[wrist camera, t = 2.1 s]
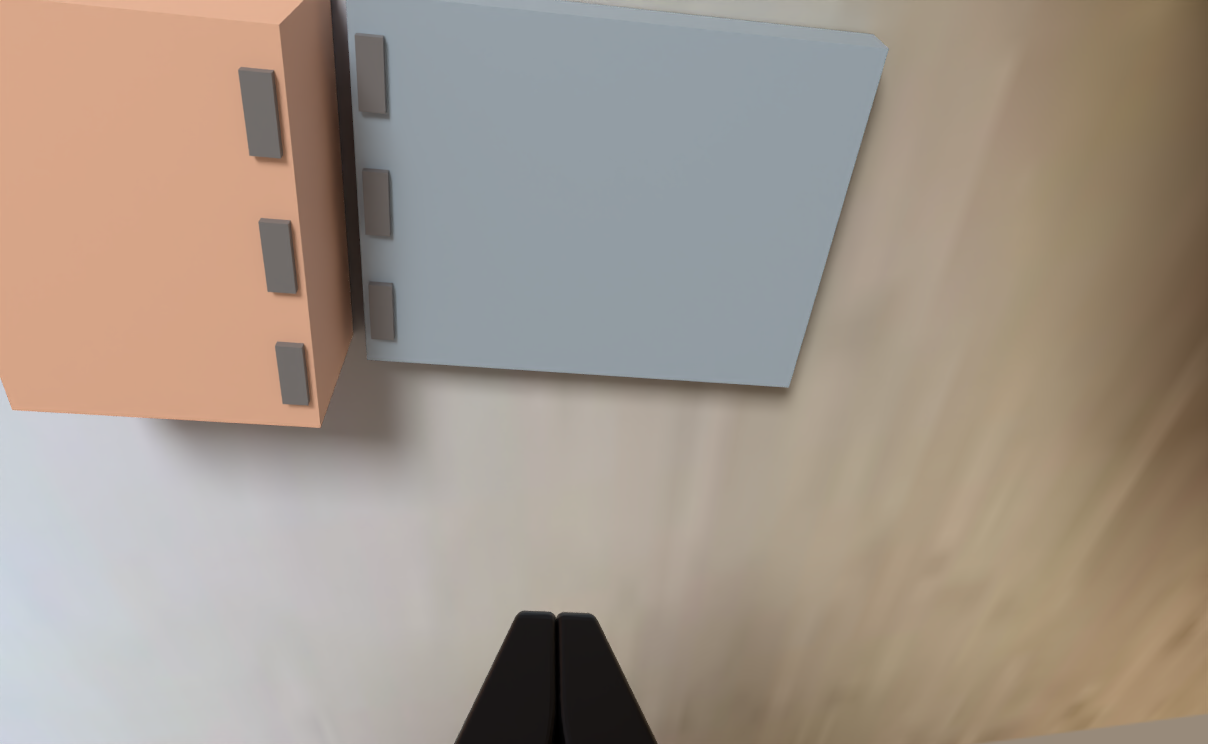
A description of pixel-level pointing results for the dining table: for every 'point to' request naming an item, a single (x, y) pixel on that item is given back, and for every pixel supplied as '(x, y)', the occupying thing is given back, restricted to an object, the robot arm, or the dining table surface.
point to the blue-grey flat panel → (599, 184)
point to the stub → (172, 210)
